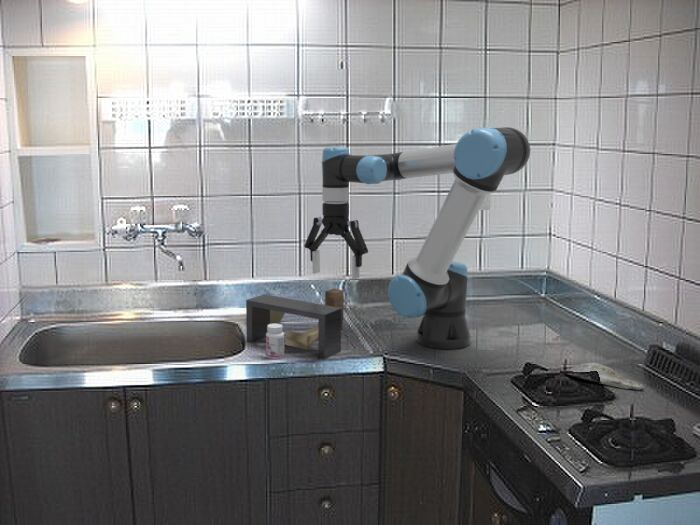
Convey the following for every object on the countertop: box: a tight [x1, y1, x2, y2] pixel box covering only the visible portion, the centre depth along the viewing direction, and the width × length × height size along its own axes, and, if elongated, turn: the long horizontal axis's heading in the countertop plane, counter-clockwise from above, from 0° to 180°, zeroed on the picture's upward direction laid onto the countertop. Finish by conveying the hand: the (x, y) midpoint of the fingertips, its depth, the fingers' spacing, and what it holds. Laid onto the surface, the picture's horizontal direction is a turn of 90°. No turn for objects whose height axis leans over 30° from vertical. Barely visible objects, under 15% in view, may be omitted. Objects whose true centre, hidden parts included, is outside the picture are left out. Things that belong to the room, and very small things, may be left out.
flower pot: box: [270, 295, 286, 324], centre depth 229 cm, size 10×10×7 cm
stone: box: [569, 362, 645, 391], centre depth 186 cm, size 20×4×10 cm
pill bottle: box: [265, 323, 285, 360], centre depth 198 cm, size 5×5×8 cm
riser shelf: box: [245, 293, 342, 360], centre depth 206 cm, size 26×8×12 cm, turn 58°
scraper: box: [285, 288, 345, 350], centre depth 215 cm, size 7×21×12 cm, turn 148°
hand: (335, 275), depth 219 cm, fingers open, 13 cm apart
